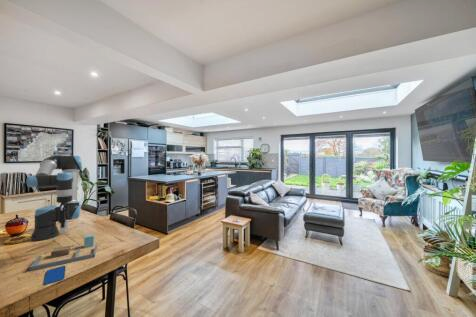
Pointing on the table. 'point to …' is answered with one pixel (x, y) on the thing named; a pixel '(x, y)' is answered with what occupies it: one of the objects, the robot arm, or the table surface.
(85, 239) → the teal block
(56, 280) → the smartphone
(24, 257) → the table surface
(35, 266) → the slot rack
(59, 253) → the walnut block
